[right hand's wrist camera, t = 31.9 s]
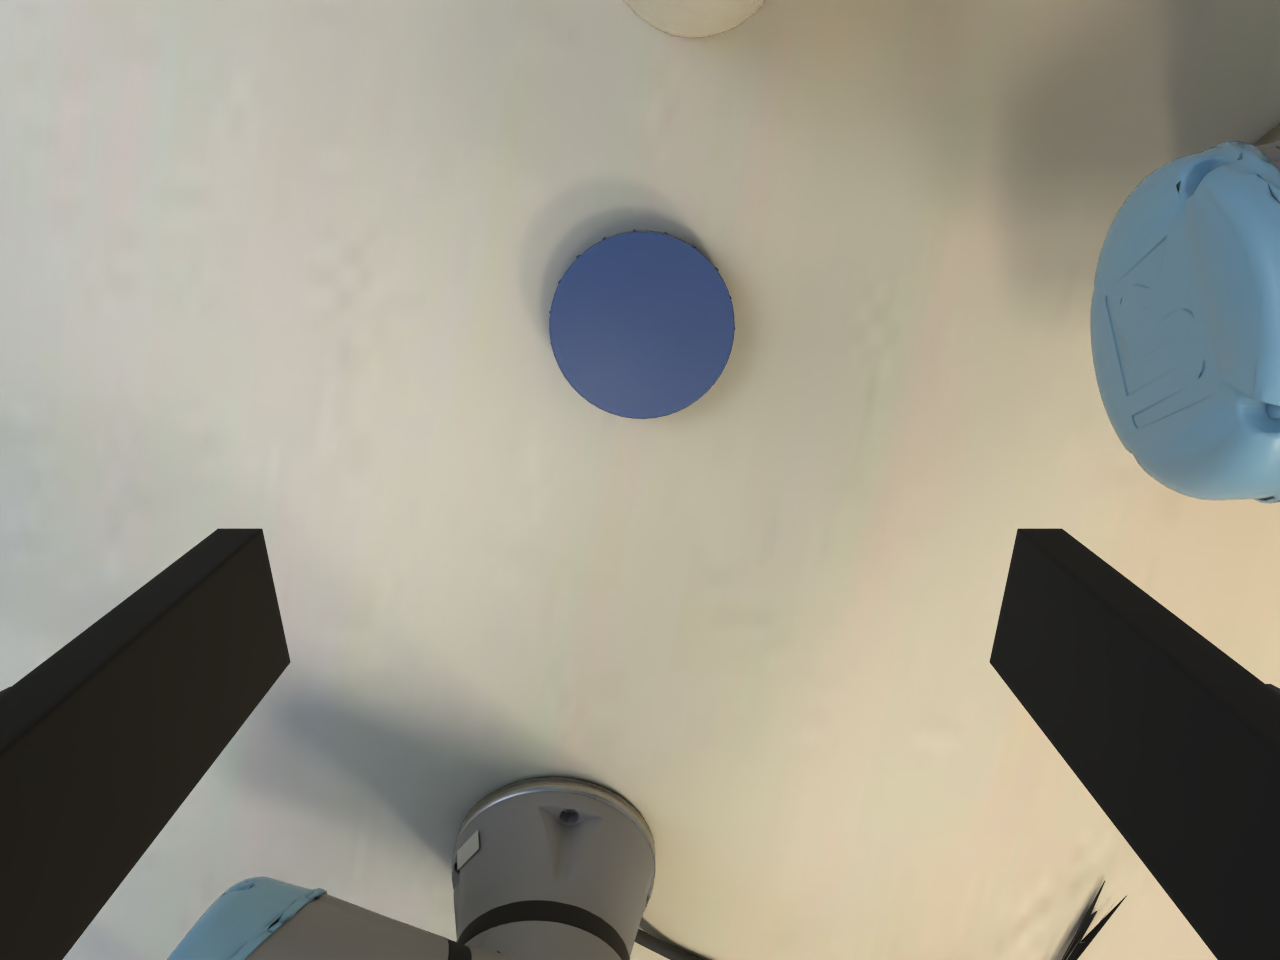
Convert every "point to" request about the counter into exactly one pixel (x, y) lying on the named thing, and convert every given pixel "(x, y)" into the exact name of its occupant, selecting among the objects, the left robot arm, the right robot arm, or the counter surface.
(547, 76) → the counter surface
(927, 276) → the counter surface
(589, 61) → the counter surface
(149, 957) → the counter surface
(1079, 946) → the feather
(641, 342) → the lid
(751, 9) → the jar
